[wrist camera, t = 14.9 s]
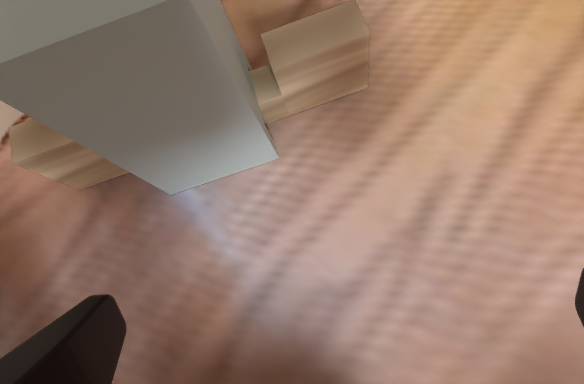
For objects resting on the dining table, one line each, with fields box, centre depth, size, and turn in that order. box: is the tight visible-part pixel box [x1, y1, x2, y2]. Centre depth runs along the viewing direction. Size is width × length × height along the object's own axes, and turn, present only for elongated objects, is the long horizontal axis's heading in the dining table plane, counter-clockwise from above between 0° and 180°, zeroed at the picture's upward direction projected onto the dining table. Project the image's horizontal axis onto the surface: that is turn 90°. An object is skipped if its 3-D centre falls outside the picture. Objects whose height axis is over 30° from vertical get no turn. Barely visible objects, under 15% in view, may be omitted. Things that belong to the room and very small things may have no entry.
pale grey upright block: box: [0, 0, 279, 195], centre depth 18 cm, size 6×7×13 cm
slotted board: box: [9, 0, 370, 190], centre depth 22 cm, size 2×18×5 cm, turn 107°
